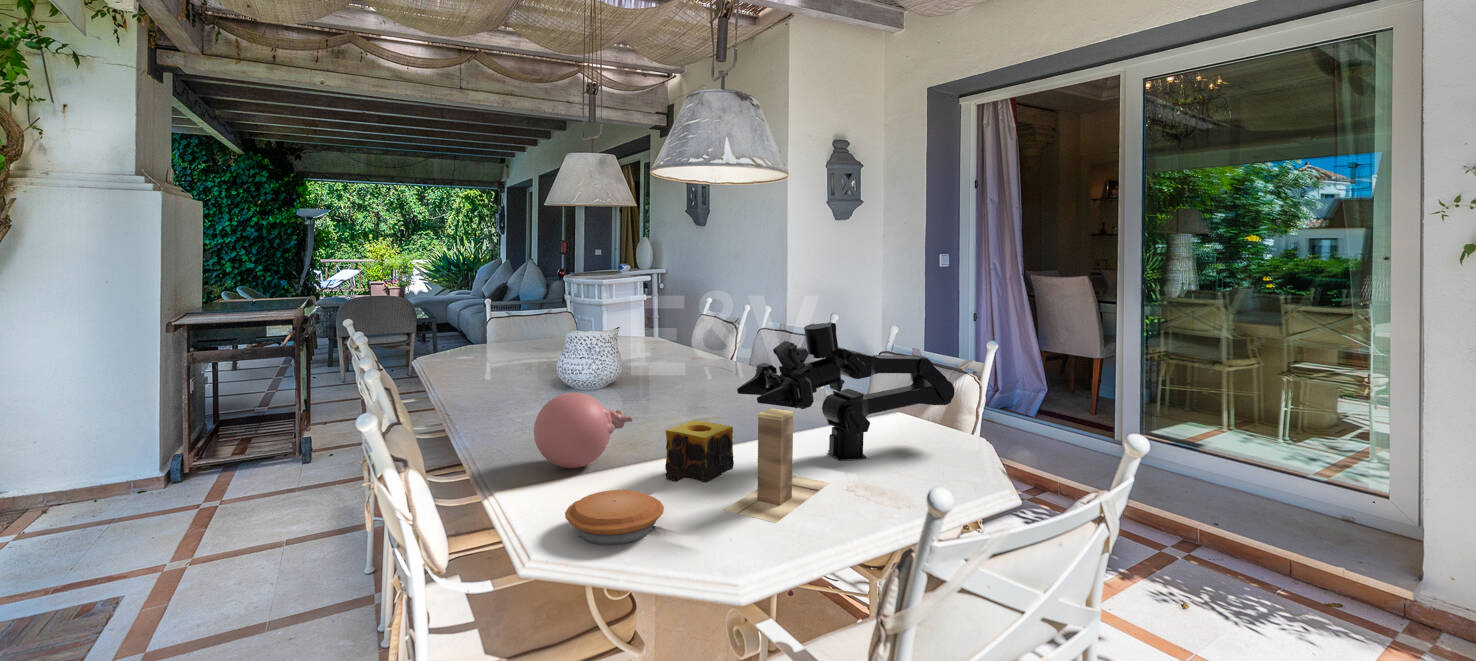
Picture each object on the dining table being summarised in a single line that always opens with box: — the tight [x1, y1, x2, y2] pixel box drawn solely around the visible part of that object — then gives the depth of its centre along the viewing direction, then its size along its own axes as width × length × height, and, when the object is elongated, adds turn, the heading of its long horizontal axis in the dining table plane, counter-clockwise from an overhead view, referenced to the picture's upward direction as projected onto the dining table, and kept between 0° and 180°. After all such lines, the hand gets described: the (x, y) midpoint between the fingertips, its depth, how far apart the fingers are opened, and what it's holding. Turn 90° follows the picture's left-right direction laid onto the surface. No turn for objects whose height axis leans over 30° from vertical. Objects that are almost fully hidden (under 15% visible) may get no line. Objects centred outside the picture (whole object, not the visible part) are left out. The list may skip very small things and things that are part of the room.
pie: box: [564, 489, 665, 546], centre depth 108 cm, size 15×16×5 cm
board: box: [723, 474, 831, 524], centre depth 120 cm, size 22×10×1 cm, turn 149°
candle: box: [664, 419, 735, 483], centre depth 133 cm, size 10×10×10 cm
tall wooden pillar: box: [756, 408, 795, 506], centre depth 117 cm, size 5×5×16 cm
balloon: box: [533, 392, 634, 469], centre depth 139 cm, size 15×20×15 cm
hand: (747, 395), depth 135 cm, fingers open, 9 cm apart
